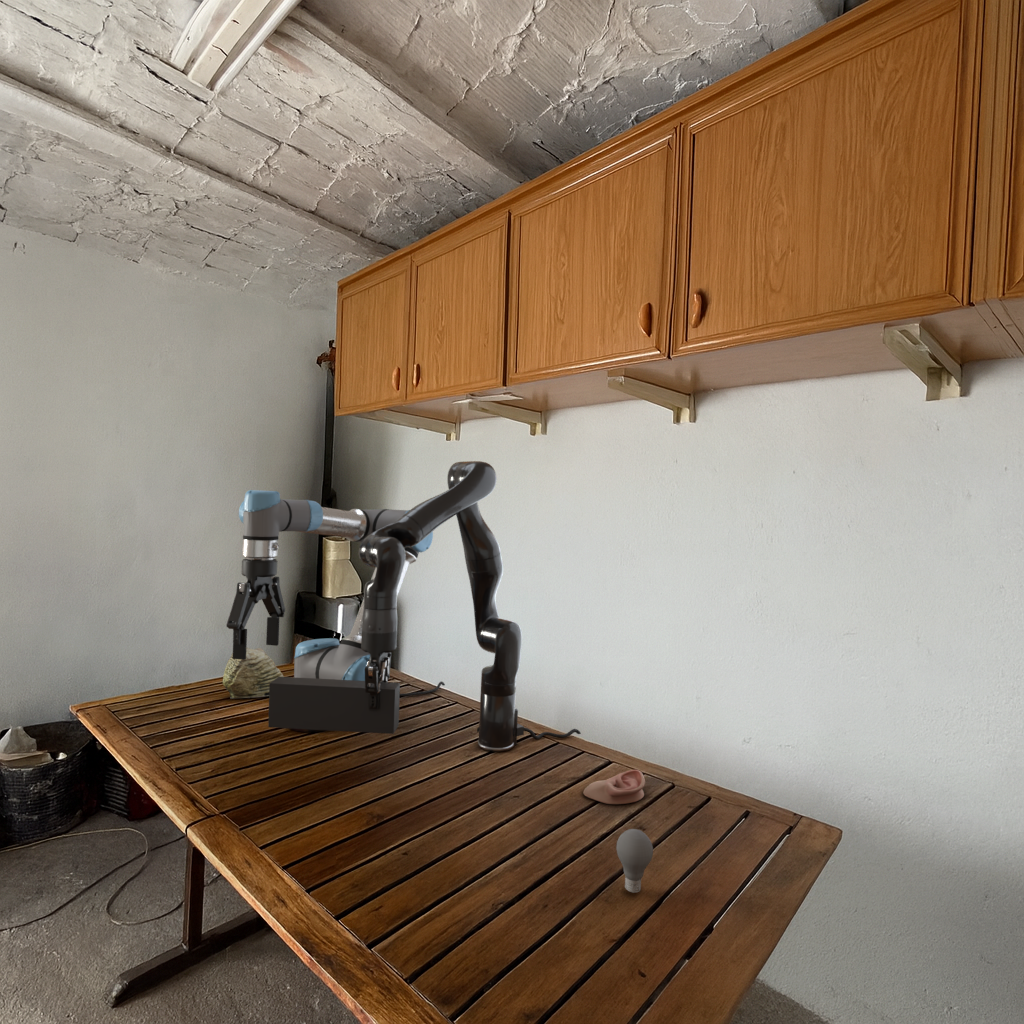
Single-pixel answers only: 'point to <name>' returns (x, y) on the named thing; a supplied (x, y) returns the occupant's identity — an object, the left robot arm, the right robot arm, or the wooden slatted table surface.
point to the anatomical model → (618, 788)
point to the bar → (332, 705)
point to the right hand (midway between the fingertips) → (377, 705)
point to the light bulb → (634, 857)
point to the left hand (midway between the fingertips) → (256, 651)
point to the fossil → (250, 674)
